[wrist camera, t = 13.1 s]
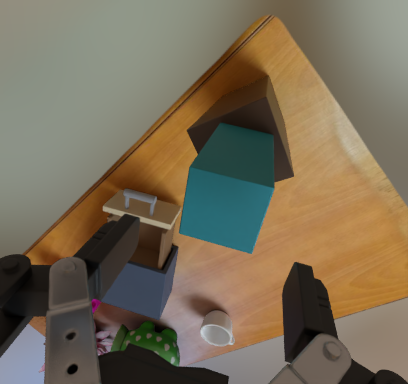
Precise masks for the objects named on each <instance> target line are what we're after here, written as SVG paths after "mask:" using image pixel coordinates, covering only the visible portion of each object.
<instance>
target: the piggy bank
mask: <svg viewBox="0 0 408 384" xmlns="http://www.w3.org/2000/svg"><path fill="white" fill-rule="evenodd" d="M154 328H155V326H154V323H153V322H151V321H145V322H143V323H142V324H141V326H140V327H139V328H138V329H135V330H128V328H127V327H126V326H124V325H123V324H122V325H121V327H120V329H119V331H118V332H117V334H116V337H115V339H114V341H113V344H112V347H111V351H110V352H112V351H125V349H126V347H127V345H128V343H131V344H134V345H137V346H140V347H143V348H146V349H149V350H152V351H154V352H155V353H157V354H158V355H160V356H161V357H163V358H164V359H165V360H167V361H168V362H170V363H171V364H173V365H175V366H179V362H180V355H179V348H178V346H177V334H176V332H175V331H173V330H171V329H164V330H163V331H162V332H161V333H157V332H155V331H154Z"/></svg>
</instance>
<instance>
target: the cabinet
mask: <svg viewBox="0 0 408 384" xmlns="http://www.w3.org/2000/svg"><path fill="white" fill-rule="evenodd" d="M177 254H178V247H176V246H171V252H170V256H169V258H168V261H167V263H166V265H165V267H164V269H163V270H160V269H157V268H153V267H150V266H147V265H143V264H140V263H137V262H133V261H130V260H129V261H128V262H127V264H126V265H125V267H124V268H123V270H122V271H121V273H120V274H119V276H118V277H117V279H116V280H115V281H114V283H113V284H112V286H111V287H110V289H109V290H108V292H107V293H106V295H105V296H104V298H103V299H102V301H101V302H104V303H107V304H110V305H113V306H116V307H119V308H122V309H126V310H129V311H132V312H135V313H138V314H141V315H144V316H147V317H151V318H154V319H157V320H159V319H160V317H161V315H162V312H163V310H164V307H165V305H166V302H167V300H168V298H169V295H170V293H171V290H172V284H173V278H174V272H175V266H176V260H177Z"/></svg>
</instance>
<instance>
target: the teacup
mask: <svg viewBox="0 0 408 384" xmlns="http://www.w3.org/2000/svg"><path fill="white" fill-rule="evenodd" d="M200 334H201V336H202V338H203V339H204V340H205V341H207V342H208V343H210V344H212V345H216V346H225V345H228V344H230V345H233V344H234V342H235V340H234V337H233V335H232V321H231V319H230V317H229V316H228V315H227V314H226V313H224V312H222V311H217V310H216V311H211V312H210V313H208V314H207V315H206V316H205V318H204V320H203V323H202V326H201V329H200ZM231 339H232V343H231Z"/></svg>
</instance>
